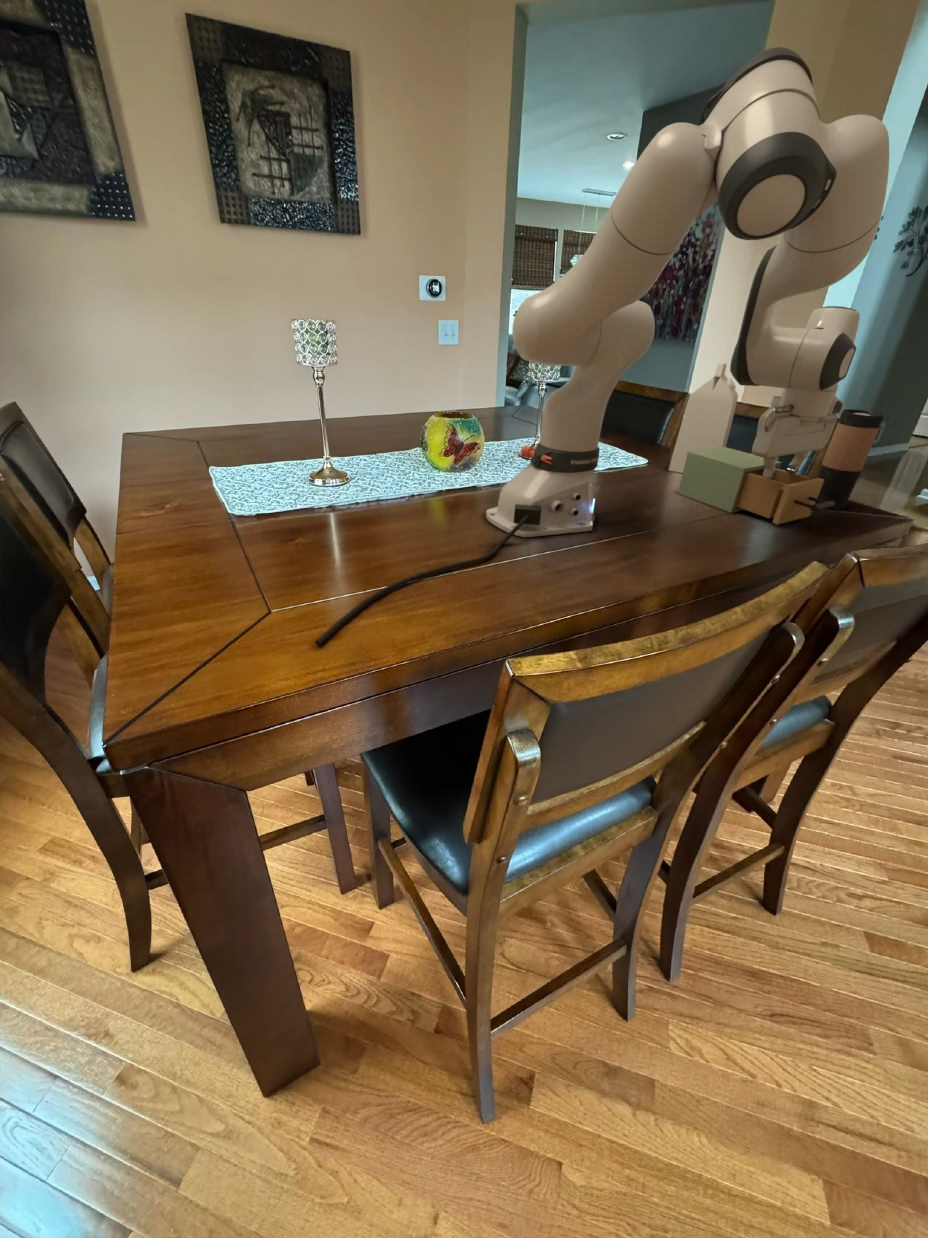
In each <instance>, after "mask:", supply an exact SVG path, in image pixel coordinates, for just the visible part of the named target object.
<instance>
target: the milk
mask: <svg viewBox="0 0 928 1238" xmlns="http://www.w3.org/2000/svg"><path fill="white" fill-rule="evenodd" d="M727 363H728V362H726V361H720V362H719V363H717V366H716V369H715V372H714V376H713V377H712V378H710V379H709V380H707V382H705V383H704V384H702V385H701V386H700V387H698V388H697V389H696V390H694V391H693V392H692V393H690V395H689V398H688V400H687V403H686V406H685V410H684V413H683V417H682V421H681V424H680V427H679V431H678V434H677V438H676V442H675V445H674V449H673V452H672V456H671V459H670V463H669V466H668V471H669V472H674V473H675V472H676V473H681V474H683V470H684V466H685V462H686V458H687V454H688V452H690V451H697V450H704V449H711V448H719V447H727V444H728V439H729V435H730V431H731V427H732V423H733V419H734V416H735V411H736V407H737V405H738V404H737V403H738V400H739V394H738V392H737V390H736V388H737V386H736V384H735V382H734V380H733V378H731V377H729V378H728V377H727V375H726V370H727Z"/></svg>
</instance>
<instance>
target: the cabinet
mask: <svg viewBox="0 0 928 1238" xmlns="http://www.w3.org/2000/svg"><path fill="white" fill-rule="evenodd" d="M781 465H782V461H779V460H778V461H777V462H776V463H775V468H778V469H781ZM759 469H765V467H764V458H763V457H759V456H756V455H753V454H751V453H749V452H746V451H741V450H737V449H734V448H730V447H727V446H726V447H719V448H711V449H704V450H697V451H690V452H688V454H687V458H686V462H685V466H684V470H683V473H681V478H680V483H679V486H678V490H677V494H679V495H681V496H684V497H687V498H690V499H693V500H695V501H698V502H701V503H702V504H703V503H704V504H705V505H708V506H711V507H714V508H717V509H719V510H723V511H725V512H727V513H730V514H733V513H736V512H741V511H745V510H744V509H742V508H739V507H736V506H735V505H736V502H737V499H738V496H739V492H740V489H741V486H742V483H743V480H744V476H745V473H746V472H748V471H754V470H759Z"/></svg>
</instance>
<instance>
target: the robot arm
mask: <svg viewBox="0 0 928 1238" xmlns="http://www.w3.org/2000/svg"><path fill="white" fill-rule="evenodd" d="M817 99H818V98H817V96H816V92H815V89H814V87H813V76H812V73H811V70H810V68H809V67H808V64H807V63H806V62H805V60H804V59H803V58H802V57H801V55H799V53H797V52H795V51H794V50H793V49H791V48H787V47H783V46H782V47H781V46H778V47H777V46H776V47H771V48H768V49H765V50H762V51H761V52H758V53H757V54H755V55H754V56H752V57H750V59H748V60H747V61H745V62H744V64H743V65H741V66H740V67H739V68H738V69H737V70H736V71H735V72H734V73H733V74H732V76H731V77H730V78H729V79H728V81H726V83H725V84H724V85H723V87H722V88H721V89H720V90H719V91H718V92H716V93H715V94H714V95H713V96H711V97H710V98H709V99H708V100H707V102H706V103H705V104H704V106H703V108H702V111H701V114H700V118H699V121H698V125H697V124H693V123H690V122H683V121H682V122H681V121H680V122H674V123H671V124H668V125H666V126H665V127H663V128H661V130H659V131H658V132H657V133H656V134H655V135H654V136H653V138H652V139H651V140H650V142H649V143H648V145H647V146H646V147H645V148H644V150H643V151H642V153H641V154H640V155H639V157H638V159H637V160H636V162H635V163H634V165H633V166H632V168H631V169H630V171H629V173H628V174H627V176H626V178H625V179H624V181H623V182H622V184H621V186H620V188H619V189H618V191H617V194H616V195H615V197H614V198H613V201H612V203H611V204H610V207H609V209H608V211H607V213H606V215H605V217H604V218H603V221H602V223H601V224H600V226H599V228H598V230H597V232H596V233H595V235H594V237H593V239H592V241H591V242H590V244H589V246H588V247H587V249H586V251H585V252H584V253H583V255H582V256H581V257H580V258H579V259H578V260H577V262H575V263H574V265H573V266H572V267H571V268H570V269H569V270H568V271H567V272H565V273H564V274H563V275H562V276H561V277H560V278H559V279H557V280H556V281H555V282H553V283H552V284H551V285H549V286H547V288H545V289H543V290H541V291H539V292H538V293H535V294H533V295H531V296H528V297H526V298H525V299H524V300H523V301H522V303H521V304H520V306H519V307H518V309H517V311H516V313H515V315H514V317H513V322H512V329H511V331H512V333H511V334H512V340H513V345H514V347H515V350H516V352H517V354H518V355H519V356H520V358H521V359H522V360H524V361H526V362H530V363H535V364H539V365H541V366H542V365H543V366H548V367H574V368H573V372H572V374H571V376H570V377H569V379H568V380H567V381H566V382H565V384H564V385H562V386H561V387H559V388H557V389H556V390H554V391H553V392H551V393H550V394H549V396H548V397H547V398H546V400H545V402H544V405H543V411H542V419H541V428H540V429H541V430H540V437H539V441H538V442H537V444H536V447H535V448H533V447H530V446H529V445H523V446H522V448H521V450H520V452H521V453H520V454H521V456H522V457H525V458H527V459H530V463H529V464H528V465H527V466H525V467H524V468H523V469H522V470H521V471H520V472H518V473H517V475H515V476H514V477H513V478H512V479H510V480H509V481H508V482H506V484H505V485H503V486H502V487H501V491H500V494H499V497H498V501H497V506H495V507H492V508H488V509H486V512H485V519H487V521H488V522H489V523H491V524H492V525H493V526H495V527H497V528H498V529H500V530H502V531H503V532H506V533H507V534H506V535H505V536H504V537H503V538H502V539H501V540H500V541H499V542H498V543H497V545H496V546H494V548H493V549H492V550H491V551H489V553H487V554H485V555H482V556H479V557H476V558H472V559H468V560H463V561H458V562H454V563H450V564H447V565H443V566H439V567H436V568H432V569H429V570H425V571H422V572H418V573H416V574H413V575H410V576H408V577H405V578H403V579H401V580H398V581H395V582H394V583H392V584H390V585H387V586H385V587H383V588H381V589H380V590H378V591H376V592H374V593H373V594H372V595H370V596H368V597H367V598H365V599H364V600H362V601H361V602H360V603H359V604H357V605H356V606H355V607H353V609H351V610H349V612H347V613H346V614H345V615H343V616H342V617H341V618H339V620H338V621H336V622H335V623H334V624H333V625H332V626H331V627H330V628H329V629H327V630H326V631H325V632H324V633H323V634H322V635H320V636H319V638H317V639H316V640H315V642H314V643H315V645H316V646H321V645H322V644H323V643H324V642H326V640H327V639H329V638H330V637H331V636H332V635H333V634H334V633H335V632H336V631H337V630H339V629H340V628H341V627H342V626H343V625H344V624H345V623H347V622H348V621H349V620H350V619H351V618H353V616H355V615H356V614H357V613H359V612H360V611H361V610H362V609H364V608H366V606H367V605H369V604H371V602H373V601H375V600H376V599H378V598H379V597H381V596H383V595H385V594H386V593H388V592H390V591H392V590H394V589H397V588H398V587H401V586H403V585H405V584H407V583H410V582H413V581H415V580H418V579H421V578H424V577H427V576H430V575H434V574H438V573H441V572H442V573H443V572H445V571H449V570H452V569H455V568H460V567H465V566H469V565H474V564H477V563H481V562H483V561H487V560H488V559H490V558H492V557H493V556H494V555H496V554H497V552H498V551H499V550H500V548H502V546H504V544H506V543H507V542H508V540H509V539H511V537H512V536H517V537H521V538H533V537H543V536H553V535H563V534H570V533H571V534H572V533H573V534H574V533H582V532H591V531H592V530H593V527H594V523H593V522H594V521H595V518H596V517H595V512H594V511H595V510H594V508H595V503H596V502H595V501H596V498H594V489H595V487H594V486H595V471H596V470H595V469H596V468H597V467H598V463H599V459H600V451H601V450H600V447H599V442H600V438H601V437H600V436H601V431H602V426H603V422H604V416H605V413H606V409H607V406H608V402H609V401H610V398H611V396H612V393H613V391H614V390H615V388H616V387H617V384H619V382H620V380H621V379H622V377H623V375H624V374H625V373H626V372H627V371H628V370H629V369H630V368H631V367H632V366H633V365H634V364H635V363H636V362H637V361H639V360H640V359H641V358H643V356H644V355H645V354H646V353H647V352H648V350H649V348H650V346H651V345H652V342H653V340H654V336H655V329H656V321H655V316H654V312H653V311H652V307H651V306H650V305H649V304H648V303H646V302H644V301H641V300H640V299H642V298H643V297H645V295H646V294H648V292H649V291H651V289H652V288H653V285H654V284H655V283H656V282H657V280H658V279H659V277H660V276H661V274H662V272H663V271H664V269H665V268H666V266H667V265H668V263H669V262H670V260H671V259H672V258H673V256H674V254H675V253H676V251H677V250H678V248H680V245H681V244H682V242H683V240H684V239H685V237H686V236H687V234H688V233H689V231H690V230H691V228H692V225H693V224H694V222H695V221H697V220H698V219H699V218H700V217H701V215H702V214H703V213H705V211H707V210H708V209H709V208H710V207H712V206H713V205H715V204H716V203H717V208H718V212H719V214H720V217H721V219H722V222H723V224H724V226H725V228H726V229H727V230H728V231H729V233H730V234H731V235H732V236H733V237H735V238H737V239H740V240H743V241H760V240H765V239H768V238H772V237H773V238H774V237H776V236H779V235H781V234H783V235H782V238H781V241H780V242H779V243H778V244H776V245H773V246H772V247H770V248H769V249H768V250H766V251H765V254H764V255H763V257H762V259H761V260H760V262H759V264H758V266H757V268H756V271H755V274H754V276H753V279H752V283H751V285H750V290H749V292H748V293H749V294H748V297H747V300H746V304H745V308H744V313H743V316H742V322H741V325H740V330H739V335H738V338H737V341H736V344H735V346H734V349H733V351H732V355H731V358H730V367H729V372H730V373H731V375H732V377H733V379H734V380H735V382H736V383H737V384H738V385H739V386H747V387H748V386H749V387H760V386H761V387H770V388H777V389H779V388H780V389H782V392H781V395H780V396H781V398H780V401H779V404H778V407H775V408H774V410H773V411H772V412H771V413H769V414H768V416H767V417H766V418H765V419H764V420H763V422H762V424H761V426H760V428H759V431H758V433H757V432H756V435H757V436H755V439H754V441H753V444H752V447H751V452H752V453H753V455H756V456H759V457H763V458H764V467H765V469H764V472H763V477H766V478H772V477H774V476H775V473H776V471H777V469H775V463H776V462H777V461H779V458H780V457H783V456H790V455H794V456H793V458H792V460H791V461H790V463H788V465H787V468H786V470H785V471H787V473H791V474H794V473H796V474H799V471H800V469H801V466H802V464H803V463H804V462H805V461H806V459H807V458H808V456H809V454H810V452H814V451H821V450H823V449H824V448H825V446H826V445H827V444H828V443H829V440H830V438H831V436H832V435H833V434H832V433H833V432H834V429H835V427H836V425H837V422H838V415H841V414H842V411H843V410H844V408H845V402H844V401H843V400H842V399H840V398H839V397H838V396H836V394H837V391H838V388H839V382H841V381H843V380H844V379H845V378H846V377H847V375H848V372H849V370H850V367H851V365H852V361H853V359H854V357H855V354H856V352H857V346H856V345H855V340H856V337H857V333H858V328H859V324H860V319H861V318H860V317H861V314H860V312H859V311H857V310H856V309H854V308H852V307H847V306H838V305H837V306H836V305H827V306H821V307H817V308H815V309H814V310H813V311H812V313H811V314H810V316H809V319H808V321H807V322H806V325H805V327H790V326H789V327H788V326H779V325H776V324H773V323H771V319H772V317H773V313H774V309H775V305H776V303H778V302H780V301H783V300H785V299H788V298H791V297H795V296H799V295H804V294H809V293H814V292H818V291H822V290H824V289H826V288H828V287H831V286H833V285H834V284H836V283H838V282H840V281H842V280H843V279H844V278H846V277H847V276H848V275H850V274H851V273H852V272H853V271H854V270H856V269H857V268H858V266H860V264H861V263H862V262H863V261H864V259H866V257H867V256H868V254H869V252H870V251H871V248H872V246H873V243H874V240H875V238H876V237H877V232H878V231H879V230H878V229H879V227H880V223H881V220H882V219H881V218H882V215H883V210H884V206H885V201H886V195H887V188H888V182H889V171H890V137H889V132H888V129H887V126H886V125H885V124H884V123H883V121H882V120H880V119H879V118H877V117H875V116H873V115H870V114H852V115H848V116H844V117H841V118H838V119H836V120H833V122H830V123H825V122H823V121H821V115H820V109H819V104H818V100H817ZM707 110H708V111H707ZM706 112H707V113H706ZM705 116H706V117H705ZM774 412H775V413H774Z"/></svg>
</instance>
